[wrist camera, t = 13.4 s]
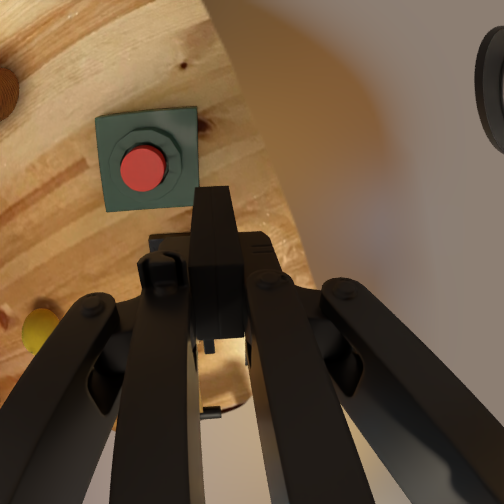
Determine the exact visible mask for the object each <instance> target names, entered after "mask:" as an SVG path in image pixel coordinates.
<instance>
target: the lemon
mask: <svg viewBox="0 0 504 504" xmlns="http://www.w3.org/2000/svg"><path fill="white" fill-rule="evenodd" d="M58 324H59V320H58V318H57V316H56V315H55V314H54V313H53V312H52V311H50V310H47V309H43V308H42V309H36V310H34V311H32V312H31V313H30V314H29V315H28V316H27V318H26V319H25V322H24V324H23V327H22V341H23V344H24V346H25V348H26V349H27V350H28V351H29V352H30V353H32V354H34V355H36V354H37V352H38V351H39V350H40V348H41V347H42V345H43V344H44V343H45V341H46V340H47V338H48V337H49V336H50V334H51V333H52V332H53V330H54V329H55V328H56V326H57V325H58Z"/></svg>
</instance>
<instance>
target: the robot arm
mask: <svg viewBox="0 0 504 504" xmlns="http://www.w3.org/2000/svg"><path fill="white" fill-rule="evenodd" d="M499 99H500V106H501V110H502V114H503V117H504V60H503V63H502V66H501V70H500V75H499ZM137 267H138V272H139V277H140V282H141V286H142V292H141V295H140V296H138V297H136V298H133V299H130V300H127V301H123V302H119V303H115V299H114V298H113V297H112V296H111V295H110V294H106V293H103V292H95V293H90V294H87V295H85V296H83V297H81V298H79V299H78V300H77V301H76V302H75V303H74V304H73V305H72V307H71V308H70V309H69V310H68V312H67V313H66V314H65V316H64V317H63V318H62V320H61V321H60V322H59V324H58V325H57V326H56V328H55V329H54V330H53V332H52V333H51V334H50V336H49V337H48V338H47V340H46V341H45V343H44V344H43V345H42V347H41V348H40V350H39V351H38V352H37V354H36V355H35V357H34V358H33V360H32V361H31V363H30V364H29V365H28V367H27V368H26V370H25V371H24V373H23V374H22V376H21V377H20V379H19V380H18V382H17V383H16V385H15V387H14V388H13V390H12V391H11V393H10V394H9V396H8V398H7V399H6V401H5V402H4V404H3V406H2V407H1V409H0V504H82V503H83V500H84V497H85V494H86V492H87V489H88V487H89V484H90V482H91V479H92V476H93V474H94V471H95V468H96V466H97V464H98V461H99V459H100V456H101V454H102V451H103V449H104V446H105V444H106V441H107V439H108V437H109V434H110V432H111V429H112V427H113V425H114V422H115V420H116V418H117V415H118V419H117V426H116V434H115V443H114V451H113V461H112V471H111V483H110V497H109V504H205V494H204V481H203V467H202V451H201V432H200V410H199V380H198V350H197V343H196V338H197V340H211V339H228V338H242V337H244V332H245V366H247V365H248V369H249V375H250V381H251V388H252V394H253V400H254V406H255V412H256V418H257V424H258V430H259V436H260V441H261V447H262V453H263V459H264V464H265V470H266V476H267V481H268V487H269V492H270V498H271V503H272V504H375V501H374V498H373V495H372V492H371V489H370V486H369V483H368V480H367V478H366V475H365V472H364V469H363V466H362V463H361V460H360V458H359V455H358V452H357V449H356V446H355V443H354V440H353V438H352V435H351V432H350V430H349V427H348V424H347V421H346V418H345V416H344V413H343V410H342V408H341V405H342V406H343V407H344V409H345V411H346V412H347V413H348V415H349V416H350V418H351V419H352V421H353V422H354V423H355V425H356V426H357V427H358V429H359V430H360V432H361V433H362V435H363V436H364V437H365V439H366V440H367V442H368V443H369V444H370V446H371V447H372V449H373V450H374V451H375V453H376V454H377V456H378V457H379V459H380V460H381V461H382V463H383V464H384V466H385V467H386V468H387V469H388V471H389V472H390V474H391V475H392V477H393V478H394V480H395V481H396V482H397V484H398V485H399V486H400V488H401V489H402V491H403V492H404V493H405V495H406V496H407V498H408V499H409V500H410V502H411V503H412V504H504V427H503V426H502V425H501V424H500V423H499V422H498V420H497V419H496V418H495V417H494V416H493V415H492V414H491V413H490V412H489V411H488V409H486V407H485V406H484V405H483V404H482V403H481V402H480V401H479V400H478V399H477V398H476V397H475V395H473V393H472V392H471V391H470V390H469V389H468V388H467V387H466V386H465V385H464V384H463V383H462V382H461V381H460V380H459V379H458V378H457V377H456V376H455V375H454V373H453V372H452V371H451V370H450V369H449V368H448V367H447V366H446V365H445V364H444V363H443V362H442V361H441V360H440V359H439V358H438V357H437V356H436V355H435V354H434V353H433V352H432V351H431V350H430V349H429V348H428V347H427V346H426V345H425V344H424V343H423V342H422V341H421V340H420V339H419V338H418V337H417V336H416V335H415V334H414V333H413V332H412V331H411V330H410V329H409V328H408V327H407V326H405V324H403V323H402V322H401V321H400V320H399V319H398V318H397V317H396V316H395V315H394V314H393V313H392V312H391V311H390V310H389V309H388V308H387V307H386V306H385V305H384V304H383V303H382V302H380V301H379V300H378V299H377V298H376V297H375V296H374V295H373V294H372V293H371V292H370V291H369V290H368V289H367V288H366V287H365V286H363V285H362V284H360V283H359V282H357V281H355V280H352V279H349V278H341V277H340V278H332V279H330V280H327V281H326V282H325V283H324V284H323V285H322V289H321V290H314V289H307V288H302V287H299V286H296V285H294V282H293V280H292V279H291V277H290V276H289V275H288V274H286V273H284V272H282V269H281V267H280V264H279V261H278V259H277V256H276V253H275V251H274V248H273V246H272V243H271V240H270V238H269V237H268V236H267V235H266V234H264V233H263V232H262V231H255V232H238V231H237V226H236V221H235V216H234V211H233V206H232V201H231V196H230V191H229V186H211V187H195V191H194V201H193V211H192V222H191V233H190V236H177V237H166V238H165V239H164V240H163V241H162V242H161V243H160V244H159V248H158V251H154V252H151V253H148V254H146V255H145V256H143V257H142V258H140V260H139V261H138V263H137ZM340 404H341V405H340Z"/></svg>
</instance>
